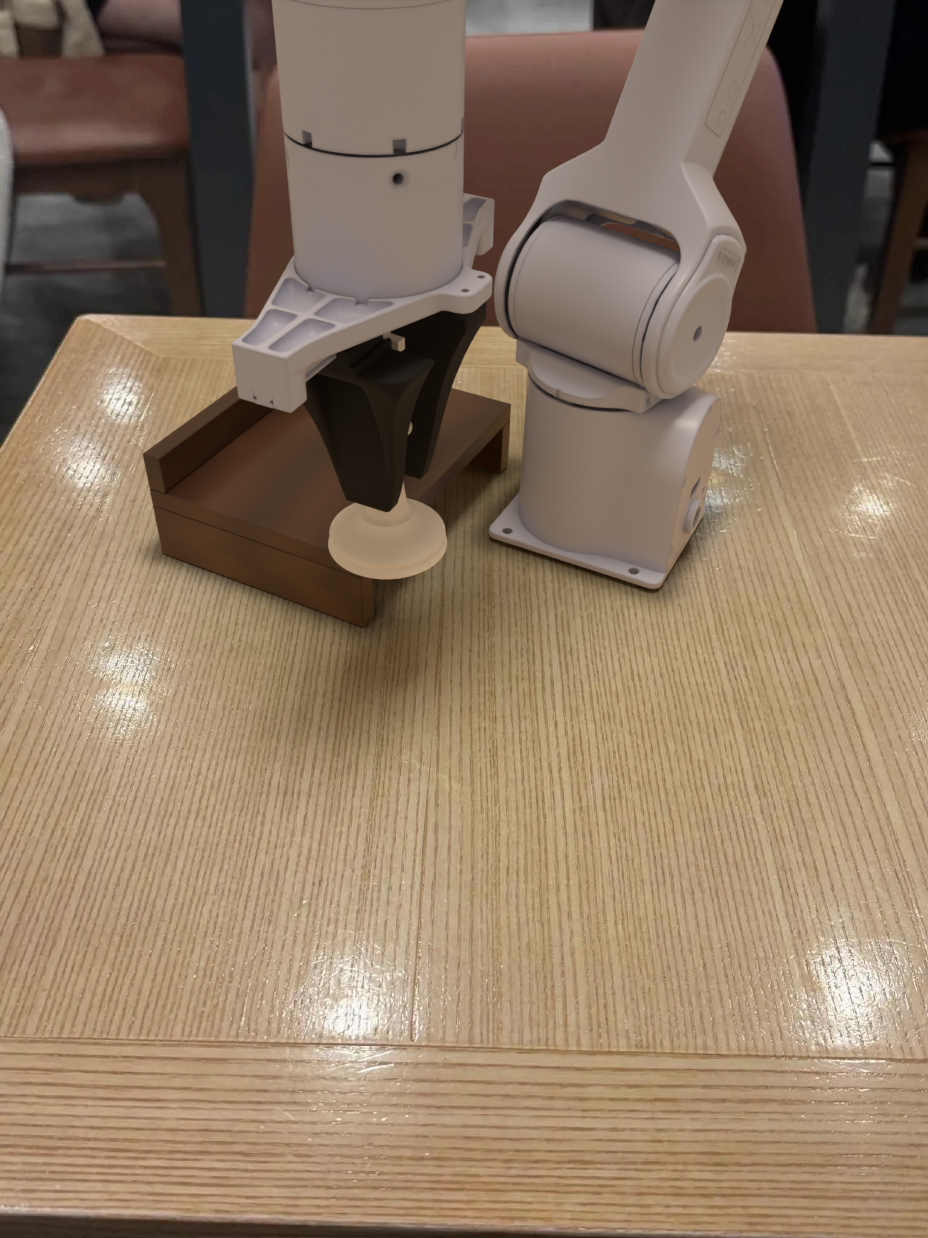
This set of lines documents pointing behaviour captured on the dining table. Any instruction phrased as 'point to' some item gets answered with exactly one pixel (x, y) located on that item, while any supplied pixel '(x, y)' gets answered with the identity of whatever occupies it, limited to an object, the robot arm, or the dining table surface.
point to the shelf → (290, 494)
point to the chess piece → (388, 533)
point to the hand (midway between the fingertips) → (386, 485)
